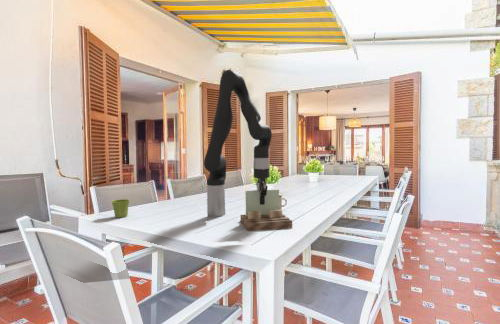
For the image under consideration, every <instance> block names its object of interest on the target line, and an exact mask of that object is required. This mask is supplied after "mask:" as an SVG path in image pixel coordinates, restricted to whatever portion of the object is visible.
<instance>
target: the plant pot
mask: <svg viewBox="0 0 500 324" xmlns="http://www.w3.org/2000/svg"><path fill="white" fill-rule="evenodd" d="M130 201H131V200H130V199H125V198H123V199H116V200H111V201H110V203H111V205H112V207H113V212H114V217H115V218H118V219H119V218H126V217H128V215H129V213H128V212H129V204H130Z"/></svg>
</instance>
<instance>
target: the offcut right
mask: <svg viewBox="0 0 500 324" xmlns="http://www.w3.org/2000/svg"><path fill="white" fill-rule="evenodd" d="M269 212H270V218H275V217H282V214H283V210H269Z"/></svg>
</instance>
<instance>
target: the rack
mask: <svg viewBox="0 0 500 324" xmlns="http://www.w3.org/2000/svg"><path fill="white" fill-rule="evenodd" d="M240 223H241V224H242V225H243V227H244V229H245V230H246V231H248V232H253V231H267V230H281V229H293V220H292V219H290V218H289V217H288V216H286V214H284V213H282V217H275V218H270V215H261V218H260V219H248V216H246V214H240Z"/></svg>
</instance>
